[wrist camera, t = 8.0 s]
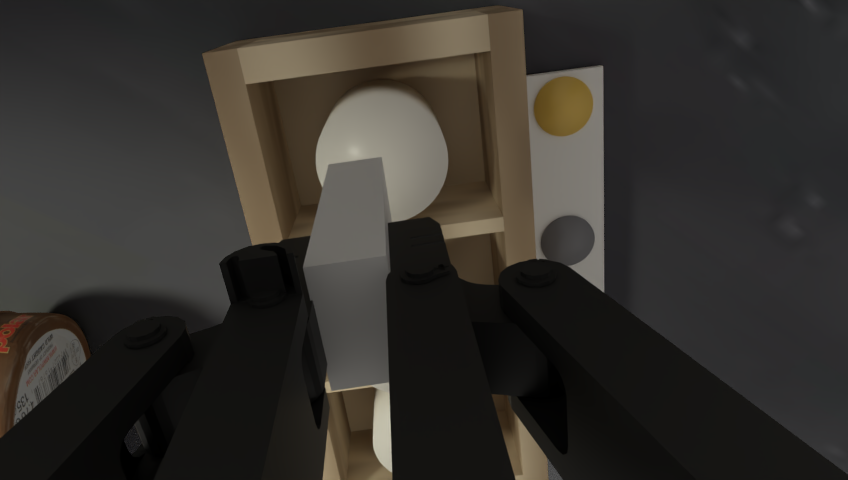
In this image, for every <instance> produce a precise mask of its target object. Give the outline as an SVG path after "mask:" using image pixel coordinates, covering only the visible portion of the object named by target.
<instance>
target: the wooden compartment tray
mask: <svg viewBox="0 0 848 480" xmlns="http://www.w3.org/2000/svg"><path fill="white" fill-rule="evenodd" d="M202 56H203V60H204V63H205V67H206V71H207V75H208V78H209V82H210V86H211V90H212V94H213V97H214V101H215V105H216V109H217V113H218V116H219V120H220V124H221V128H222V132H223V135H224V139H225V143H226V147H227V151H228V154H229V158H230V162H231V166H232V170H233V173H234V177H235V181H236V185H237V189H238V192H239V196H240V200H241V204H242V208H243V211H244V215H245V219H246V223H247V227H248V230H249V234H250V238H251V242H252V245H257V244H262V243H275V242H276V243H279V242H280V241H281V240H284V239H291V238H297V237H304V236H311V233H312V229H313V225H314V221H315V217H316V213H317V209H318V205H319V201H320V197H321V193H322V189H323V188H322V185H321V183H320V181H319V178H318V174H317V169H316V148H317V144H318V140H319V137H320V135H321V132H322V130H323V128H324V126H325V124H326V121H327V119H328V117H329V115H330V113H331V110H332V109H333V107H334V105H335V104H336V102H337V101H338V100H339V99H340V97H341V96H342V95H344V94H345V93H346V92H347V91H348V90H350V89H351V88H353V87H355V86H357V85H359V84H361V83H364V82H367V81H372V80H381V79H383V80H392V81H397V82H400V83H403V84H406V85H408V86H410V87H412V88H413V89H414V90H416V91H417V92H419V93H420V94H421V95H422V96H423V97H424V98H425V99H426V100H427V101H428V103H429V104H430V106H431V107H432V109H433V111H434V113H435V115H436V117H437V120H438V123H439V125H440V128H441V131H442V134H443V136H444V139H445V142H446V146H447V151H448V170H447V175H446V179H445V181H444V184H443V186H442V188H441V190H440V192H439V194H438V195H437V197H436V198H435V199H434V201H433V202H432V203H431V204H430V205H429V206H428V207H427V208H425V209H424V210H423V211H422V212H420V213H419V214H417V215H415V216H413V217H411V218H409V219H407V220H410V219H417V218H424V217H430V218H432V219H433V220H435V221H437V222H438V223H440V226H441V230H442V233H443V237H444V240H445V244H446V248H447V251H448V255H449V259H450V262H451V264H452V265H453V266H454V267H455V269H456V270H457V273H458V277H459V278H461V279H463V280H465V281H468V282H472V283H476V284H486V285H499V283H498V278H499V275H500V272H502V271H503V270H504V269H505V268H507V267H508V266H510V265H513V264H516V263H518V262H522V261H528V260H529V259H536V244H535V226H534V208H533V189H532V171H531V153H530V135H529V116H528V98H527V80H526V61H525V43H524V25H523V10H522V9H517V8H511V7H505V6H499V5H496V6H488V7H481V8H474V9H466V10H459V11H452V12H444V13H437V14H430V15H422V16H415V17H408V18H400V19H393V20H386V21H378V22H371V23H364V24H356V25H349V26H342V27H334V28H327V29H320V30H313V31H305V32H298V33H291V34H283V35H276V36H269V37H261V38H254V39H247V40H239V41H235V42H232V43H229V44H226V45H224V46H221V47H218V48H215V49H213V50H210V51H207V52H204V53H202ZM325 388H326V393H327V397H328V401H329V406H330V411H329V421H328V431H327V441H326V451H325V461H324V471H323V480H392V472H390V471H389V470H388V469H386V468H385V467H384V466H383V465H382V464H381V463H380V461H379V460H378V458H377V456H376V454H375V452H374V448H373V419H374V390H375V387H373V386H371V385H368V386H361V387H355V388H348V389H342V390H335V391H331V387H330V383H329V379H328V374H327V372H326V380H325ZM492 397H493V401H494V404H495V408H496V412H497V415H498V419H499V422H500V426H501V429H502V433H503V436H504V440H505V444H506V447H507V451H508V454H509V458H510V461H511V465H512V468H513V472H514V475H515V479H516V480H548V464H547V457H546V455H545V454H544V452H543V451H542V450H541V448H540V447H539V446H538V444H537V443H536V441H535V440H534V439H533V437H532V436H531V435H530V433H529V432H528V430H527V429H526V428H525V426H524V425H523V424H522V422H521V421H520V419H519V418H518V417H517V415H516V414H515V413H514V411H513V410H512V408H511V406H510V403H509V401H508V395H496V394H492Z"/></svg>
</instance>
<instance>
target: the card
mask: <svg viewBox="0 0 848 480" xmlns="http://www.w3.org/2000/svg"><path fill="white" fill-rule="evenodd" d="M526 80H527V98H528V116H529V135H530V153H531V171H532V189H533V208H534V226H535V244H536V259H537V260H539V259H547V260H550V261H555V262H560V263H562V264H564V265H566V266H568V267H570V268H572V269H573V270H574V271H576V272H577V273H578V274H580V275H581V276H582V277H584V278H585V279H586V280H588V281H589V282H590V283H592V284H593V285H594V286H596V287H597V288H598V289H600V290H601V291H602V292H604V124H603V66H601V65H597V66H590V67H582V68H575V69H568V70H560V71H553V72H546V73H538V74H531V75H526Z"/></svg>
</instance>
